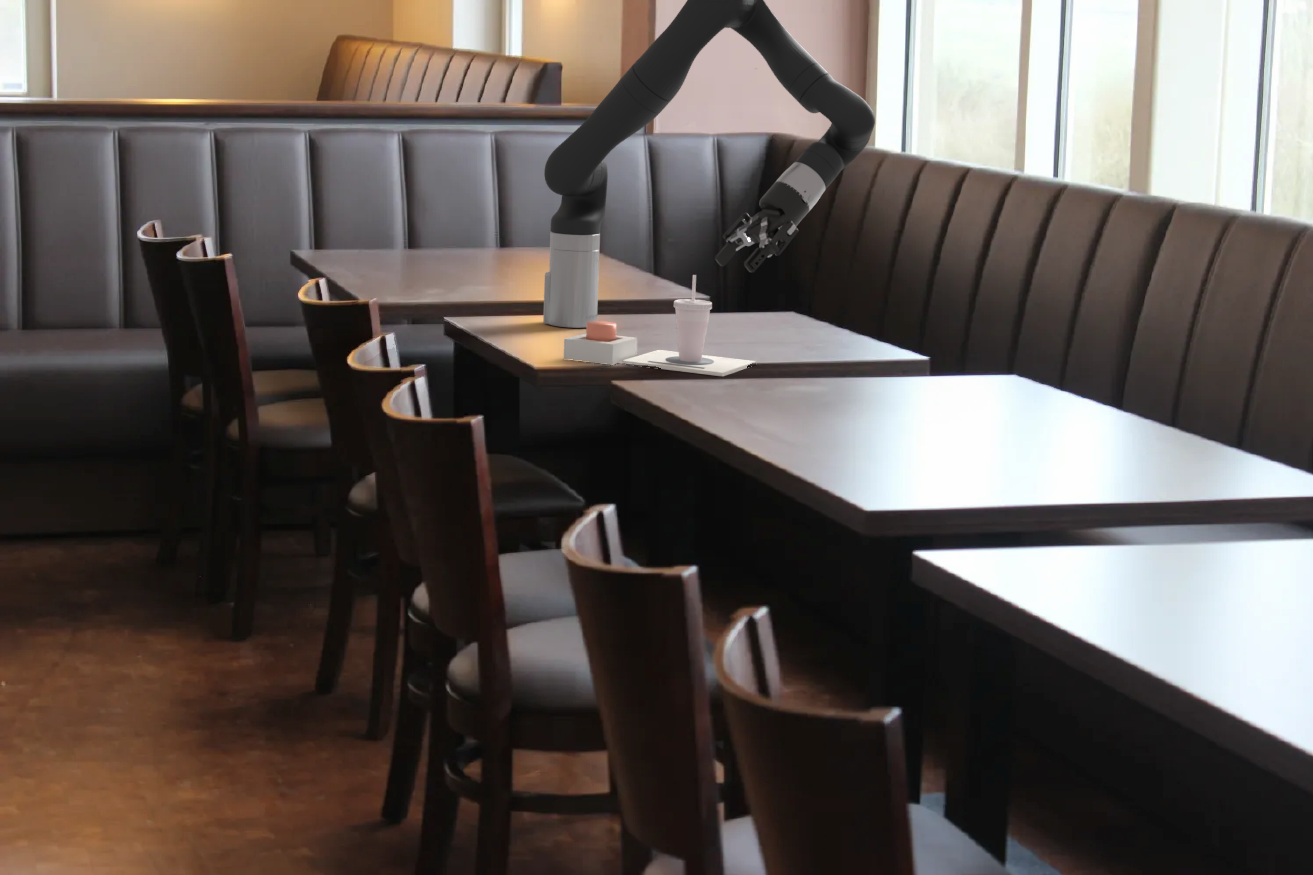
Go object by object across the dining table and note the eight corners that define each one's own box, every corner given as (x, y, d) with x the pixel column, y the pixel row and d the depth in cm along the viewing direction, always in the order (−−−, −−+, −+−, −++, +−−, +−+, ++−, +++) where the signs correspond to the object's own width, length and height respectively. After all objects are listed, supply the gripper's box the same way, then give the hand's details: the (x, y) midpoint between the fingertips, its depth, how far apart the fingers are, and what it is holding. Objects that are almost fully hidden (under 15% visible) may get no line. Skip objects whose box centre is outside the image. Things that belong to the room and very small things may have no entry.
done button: (580, 344, 281) (581, 323, 281) (594, 340, 286) (595, 320, 285) (607, 347, 279) (608, 326, 279) (621, 344, 284) (622, 323, 283)
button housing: (563, 359, 281) (564, 338, 280) (589, 352, 289) (589, 332, 288) (612, 365, 277) (613, 344, 277) (636, 358, 285) (637, 337, 284)
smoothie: (710, 358, 285) (714, 274, 282) (708, 364, 279) (712, 278, 276) (672, 355, 285) (676, 272, 282) (669, 361, 279) (673, 276, 276)
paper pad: (621, 364, 279) (622, 359, 279) (658, 353, 292) (658, 349, 292) (722, 376, 272) (722, 372, 272) (756, 364, 284) (756, 360, 284)
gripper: (756, 177, 290) (696, 245, 286) (806, 183, 278) (745, 255, 275) (779, 208, 294) (721, 276, 290) (830, 215, 282) (770, 286, 278)
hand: (733, 265), depth 282 cm, fingers open, 8 cm apart
